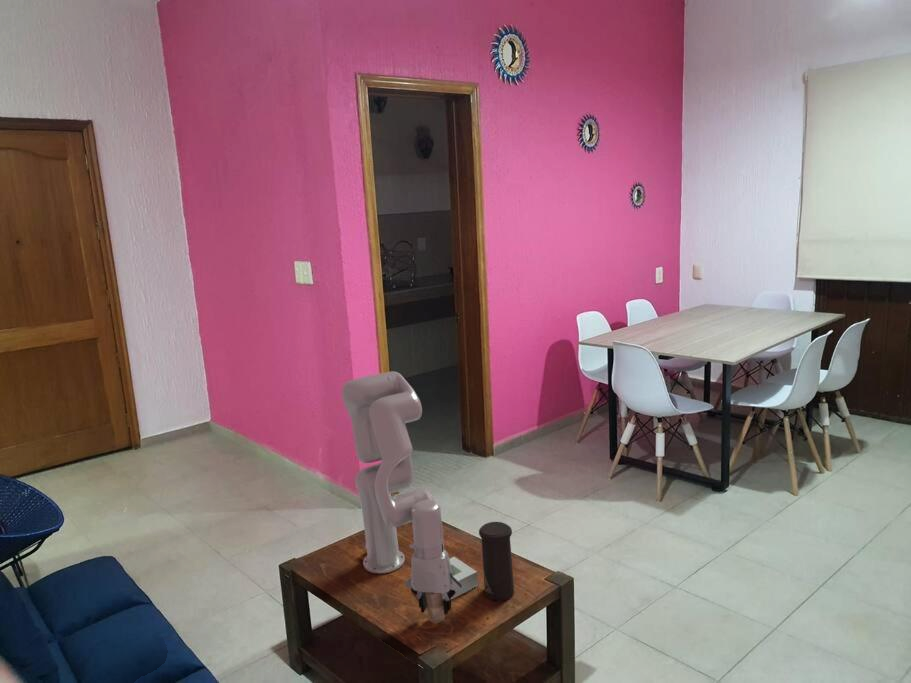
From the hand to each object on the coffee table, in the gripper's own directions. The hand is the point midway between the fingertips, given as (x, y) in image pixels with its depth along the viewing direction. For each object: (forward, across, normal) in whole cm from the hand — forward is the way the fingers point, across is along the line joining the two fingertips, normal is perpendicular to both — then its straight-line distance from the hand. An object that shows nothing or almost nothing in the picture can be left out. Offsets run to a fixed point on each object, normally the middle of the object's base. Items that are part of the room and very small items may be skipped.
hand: (435, 609), depth 179 cm
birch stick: (+3, 0, 0) cm, 3 cm away
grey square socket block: (+3, 0, +16) cm, 16 cm away
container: (+3, +14, +14) cm, 20 cm away
